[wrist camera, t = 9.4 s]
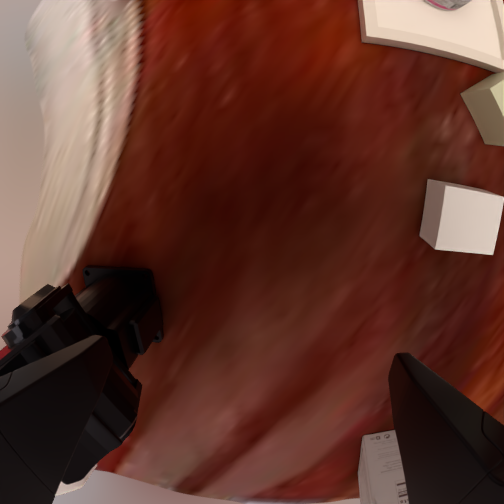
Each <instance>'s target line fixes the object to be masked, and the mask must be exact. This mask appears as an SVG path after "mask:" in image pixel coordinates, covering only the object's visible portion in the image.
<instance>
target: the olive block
mask: <svg viewBox="0 0 504 504" xmlns="http://www.w3.org/2000/svg"><path fill="white" fill-rule="evenodd" d="M460 95H461V96H462V98H463V100H464V102H465V104H466V106H467V108H468V109H469V111H470V113H471V115H472V117H473V119H474V121H475V123H476V125H477V128H478V130H479V132H480V134H481V136H482V138H483V140H484V143H485V144H489V145H497V146H504V72H500V73H496V74H492V75H490V76H489V77H487V78H485V79H484V80H482V81H480V82H479V83H477V84H475V85H474V86H472V87H470V88H469V89H467V90H465V91H464V92H462V93H460Z"/></svg>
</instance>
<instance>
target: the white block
mask: <svg viewBox="0 0 504 504" xmlns="http://www.w3.org/2000/svg"><path fill="white" fill-rule="evenodd" d="M503 202H504V197H502V196H500V195H497V194H494V193H492V192H489V191H486V190H483V189H479V188H474V187H469V186H464V185H459V184H454V183H448V182H443V181H437V180H431V179H428V181H427V189H426V197H425V204H424V211H423V218H422V224H421V230H420V235H419V236H420V237H421V238H423V239H424V240H425V241H426V242H427V243H428V244H429V245H431V246H432V247H433V248H434V249H437V250H447V251H458V252H468V253H478V254H488V255H493V252H494V248H495V243H496V239H497V234H498V229H499V224H500V219H501V214H502V208H503Z"/></svg>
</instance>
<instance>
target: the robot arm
mask: <svg viewBox="0 0 504 504" xmlns="http://www.w3.org/2000/svg"><path fill="white" fill-rule="evenodd" d="M87 270H88V271H89V273H90V274H89V273H88V271H87ZM144 274H146V275H147V276H148V278H147V277H145V276H144ZM83 276H84V280H85V285H86V287H85V288H84V289H83V290H81V291H80V292H79V293H78V294H77V295H75V296H74V294H73V292H72V288H71V287H70V285H69V283H68V284H66V285H65V286H63V287H62V288H61V287H60V286H58V287H56V288H55V287H53V286H51V285H49V284H47V285H46V286H44V287H43V288H42V289H40V290H39V291H38V292H36V293H35V294H33V295H32V296H31V297H29V298H28V299H27V300H25V301H24V302H23V303H22V304H20V305H19V306H18V307H16V308H15V309H14V310H13V314H12V322H11V323H10V324H9V325H8V330H7V331H6V332H5V333H4V334H3V335H2V336H1V337H2V338H3V340H4V341H5V343H6V344H7V345H6V346H5V347H4V348H3V349H2V350H1V351H0V504H52V503H53V500H54V498H55V494H56V492H57V490H58V487H59V485H60V483H61V482H63V483H64V484H66V485H69V484H72V483H75V482H78V481H81V480H82V479H83V478H84V477H85V476H86V475H87V474H88V473H89V471H90V470H91V469H92V468H93V467H94V466H95V465H96V464H97V463H98V462H99V460H101V459H102V458H103V457H104V456H105V455H107V454H108V453H109V452H110V451H112V450H114V449H115V448H117V447H119V446H120V445H121V444H122V443H123V441H124V440H125V439H126V438H127V437H128V436H129V434H130V433H131V432H132V430H133V428H134V426H135V423H136V419H137V413H138V407H139V401H140V395H141V390H142V384H141V383H140V382H139V381H138V379H135V378H134V377H133V375H132V374H131V373H130V372H129V368H130V367H131V365H132V364H133V362H134V361H135V359H136V358H137V356H138V355H143V354H144V353H145V352H146V350H147V349H148V347H149V346H150V344H151V343H152V342H161V341H162V339H163V331H162V325H163V320H162V315H161V309H160V303H159V298H158V297H157V295H156V291H155V285H154V279H153V274H152V272H151V270H149V269H146V268H125V267H106V266H86V267H85V268H84V269H83ZM156 335H157V336H158V337H157V336H156ZM388 381H389V389H390V397H391V406H392V415H393V423H394V428H395V433H396V437H397V442H398V447H399V451H400V456H401V461H402V467H403V472H404V477H405V483H406V489H407V495H408V501H409V504H504V425H502V424H501V423H500V422H498V421H497V420H496V419H494V418H493V417H492V416H490V415H489V414H488V413H487V412H485V411H484V412H483V409H481V408H480V407H479V406H477V405H476V404H475V403H474V402H472V401H471V400H470V399H468V398H467V397H466V396H465V395H463V394H462V393H461V392H459V391H458V390H457V389H456V388H454V387H453V386H452V385H450V384H449V383H448V382H446V381H445V380H444V379H442V378H441V377H440V376H439V375H437V374H436V373H435V372H433V371H432V370H431V369H429V368H428V367H427V366H425V365H424V364H423V363H422V362H420V361H419V360H418V359H416V358H415V357H414V356H412V355H411V354H410V353H397V354H395V356H394V359H393V362H392V365H391V369H390V372H389V377H388Z"/></svg>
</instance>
